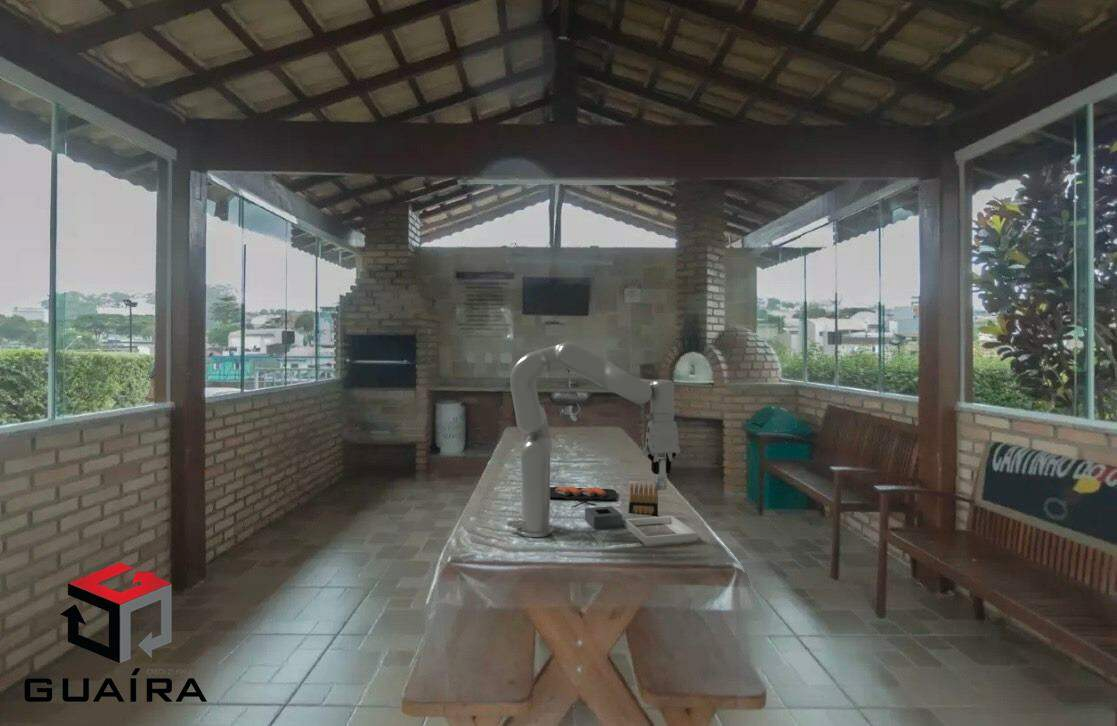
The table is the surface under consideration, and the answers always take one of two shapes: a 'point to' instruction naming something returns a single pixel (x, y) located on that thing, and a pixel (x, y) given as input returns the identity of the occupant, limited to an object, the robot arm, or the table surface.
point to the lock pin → (661, 474)
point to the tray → (671, 522)
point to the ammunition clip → (643, 500)
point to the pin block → (603, 517)
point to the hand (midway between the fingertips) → (661, 472)
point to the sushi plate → (582, 494)
